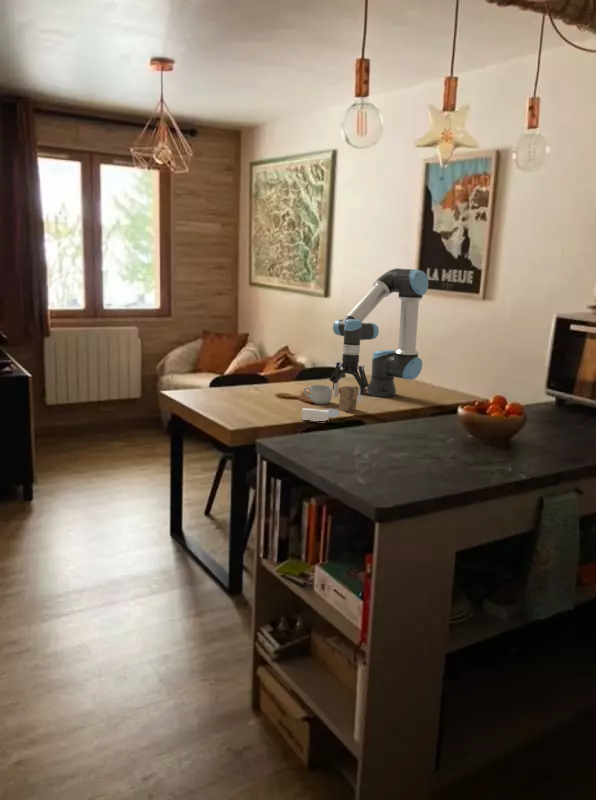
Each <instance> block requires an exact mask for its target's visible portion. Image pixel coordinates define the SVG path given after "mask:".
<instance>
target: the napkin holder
mask: <svg viewBox="0 0 596 800" xmlns="http://www.w3.org/2000/svg"><path fill="white" fill-rule="evenodd" d="M328 416H329V410H324V409H319V408H307V407H305V408H304V407H303V408H302V410H301V421H303V420H310V421H309V422H316V421H317V422H316V423H319V422H318V421H326V420H328V421H329V417H328Z"/></svg>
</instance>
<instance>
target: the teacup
mask: <svg viewBox="0 0 596 800" xmlns="http://www.w3.org/2000/svg"><path fill="white" fill-rule="evenodd" d="M306 390H308V391H309V394H308V393H307V392H306ZM333 390H334V389H333V386H330V385H325V384H313V385H311V386H305V387H304V388H303V394H304V395H305V396H306V397H307V398H308V399H310V401H312V402H313V404H315V405H327V404H329V403H330V402H331V401H332V398H333V397H332V396H333Z"/></svg>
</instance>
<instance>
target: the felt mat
mask: <svg viewBox="0 0 596 800" xmlns="http://www.w3.org/2000/svg"><path fill="white" fill-rule="evenodd" d="M323 410H329V416H328V418H329V417H336V416H338V415H339V412H340V411H339V409H335V408H331V407H328V408H325V409H323Z"/></svg>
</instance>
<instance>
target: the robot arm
mask: <svg viewBox="0 0 596 800" xmlns="http://www.w3.org/2000/svg"><path fill="white" fill-rule="evenodd" d="M427 290H429V279H428V276H427V274H426V273H425V272H424V271H423V270H419V269H416V268H415V269H411V268H409V269H408V268H393V269H389V270H388V271H386V272H385V273H383V274H382V275H380V276H379V277H378V278H377V279H376V280H375V281H374V282H373V284H372V287H371V288H370V290H368V291H367V293H366V294H365V295H364V296H363V297H362V298H361V299H360V301H358V303H357V304H356V305H355V306H354V307H352V309H351V310H350V311H349V313H348V314H346V315H345V317H344V318H343V319H341V318H340V319H337V320H334V322H333V325H332V330H333V331H332V332H333V333H334V334H335V335H336V336H340V337H343V343H342V344H343V345H342V347H343V348H342V352H343V354H342V358H341V359H342V360H341V361H342V362H341V361H339V362H336V364H335V367H334V369H333V372H332V373H331V375H330V378H329V381H331V382H332V388H333V389H332V390H333V394H332V396H333V397H332V398H337V397H339V391H340V390H339V387H340V382H339V381H340V380H341V379H342V377H344V376H345V374H348V375H352V376H353V377H354V379H355V381H356V382H357V384H358V393H357V403H361V402H363V397H364V395H365V392H366V394H367V393H368V394H367V395H369V394H370V395H369V396H372V397H378V398H393V397H395V396H396V395H397V390H396V389H397V388H396V384H395V381H394V380H395V378H398V379H404V380H409V381H412V380H416V379H417V378H418V377H419V375H420V374H421V371H422V369H423V361H422V358H420V357H419V352H418V351H417V350H416V349H417V348H416V347H417V335H418V334H417V331H418V322H419V321H418V319H419V305H420V301H421V300H422V299H423V295H425V294H426V293H427ZM393 293H397V294H398V298H399V299H400V315H399V328H398V329H399V331H398V343H397V344H398V345H397V346H398V347H397V349H396V350H394V349H385V350H383V349H382V350H376V351H373V353H372V358H371V359H372V363H371V375H370V376H371V378H370V380H369V381H368V379H367V375H366V372H365V366H364V365H359V362H360V355H359V354H360V352H361V351H360V348H361V341H368V340H369V341H371V340H374V339H376V338H377V337H378V336H379V332H380V329H379V327H378V326H377V324H376V323H373V322H372V323H371V322H368V323H367V322H363V321H364V320H365V319H366V318H367V317H368V316H369V315H370V314H371V313H372V312H373V310H374V309H375V308H376V307H377V306H378V305H379V304H380V303H381V302H382V300H383V299H384V298H387V297H389V296H390V295H391V294H393ZM341 368H342V369H341ZM365 388H367V389H366V391H365Z"/></svg>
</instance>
